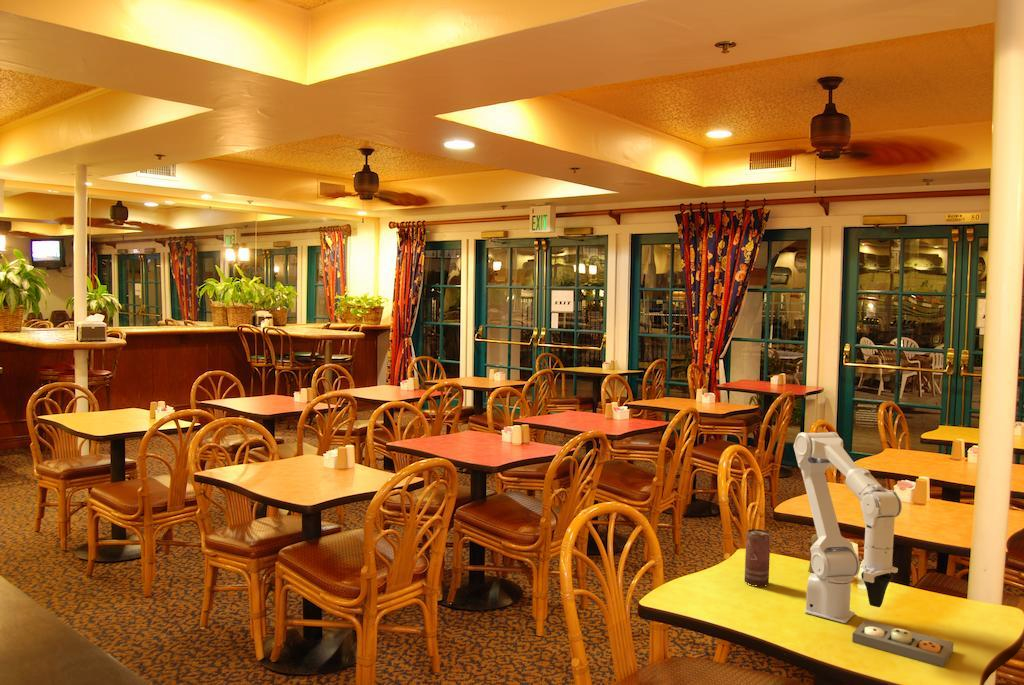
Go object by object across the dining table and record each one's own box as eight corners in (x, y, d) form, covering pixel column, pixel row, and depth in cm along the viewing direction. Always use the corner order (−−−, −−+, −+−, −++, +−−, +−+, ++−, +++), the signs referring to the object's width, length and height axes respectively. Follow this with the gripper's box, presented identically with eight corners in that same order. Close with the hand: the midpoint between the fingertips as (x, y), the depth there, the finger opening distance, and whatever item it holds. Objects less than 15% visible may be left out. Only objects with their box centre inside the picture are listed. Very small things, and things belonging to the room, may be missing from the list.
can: (766, 589, 202) (768, 536, 202) (741, 584, 206) (743, 532, 205) (771, 582, 208) (774, 531, 207) (748, 577, 211) (750, 527, 210)
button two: (889, 642, 169) (889, 631, 168) (893, 636, 172) (894, 626, 172) (909, 647, 166) (909, 636, 166) (913, 641, 169) (914, 631, 169)
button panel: (852, 641, 172) (852, 633, 171) (864, 627, 179) (865, 619, 179) (943, 667, 160) (944, 657, 160) (953, 651, 168) (953, 642, 168)
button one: (862, 639, 172) (862, 629, 172) (867, 634, 175) (867, 624, 175) (881, 645, 170) (881, 634, 169) (886, 639, 173) (886, 629, 173)
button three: (916, 654, 165) (917, 644, 165) (920, 648, 168) (921, 638, 168) (937, 660, 163) (938, 649, 163) (941, 654, 166) (942, 643, 166)
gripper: (889, 557, 163) (886, 620, 164) (906, 541, 174) (903, 600, 175) (854, 549, 168) (851, 611, 168) (872, 535, 179) (869, 592, 180)
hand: (875, 605), depth 172 cm, fingers closed
